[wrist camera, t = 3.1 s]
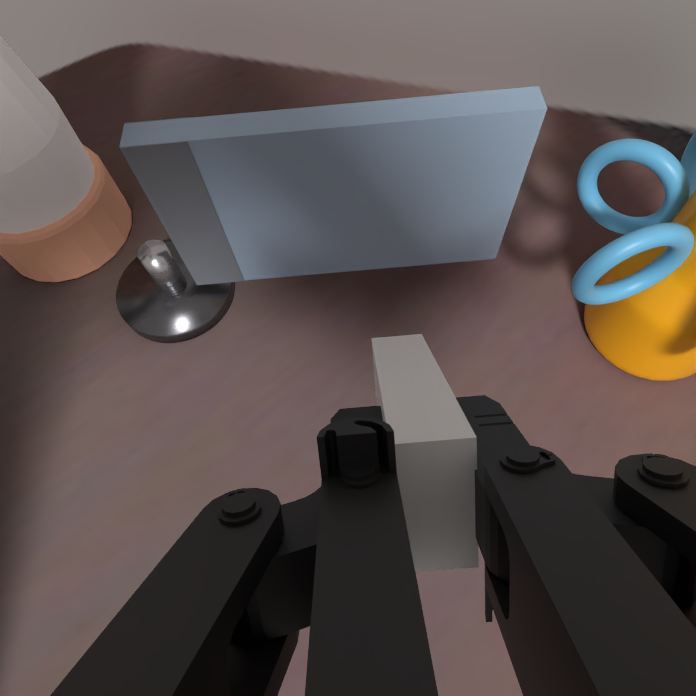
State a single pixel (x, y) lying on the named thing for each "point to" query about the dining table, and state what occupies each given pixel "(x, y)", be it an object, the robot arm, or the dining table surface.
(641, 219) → the tube with blue loops
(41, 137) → the pepper shaker
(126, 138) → the light blue rectangular panel
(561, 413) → the dining table surface
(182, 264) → the shiny grey rounded piece
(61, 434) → the dining table surface
